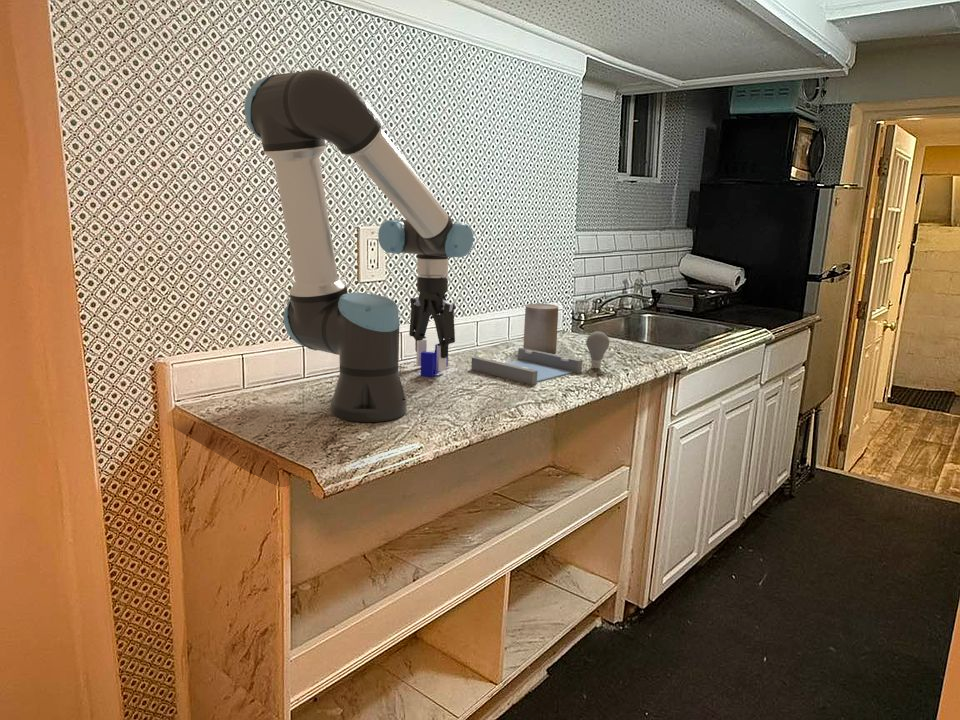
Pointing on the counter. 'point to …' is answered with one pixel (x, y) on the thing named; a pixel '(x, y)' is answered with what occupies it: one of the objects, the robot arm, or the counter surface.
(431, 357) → the cable clip
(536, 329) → the pillar candle
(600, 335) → the light bulb
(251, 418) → the counter surface
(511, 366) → the blue panel with rails
